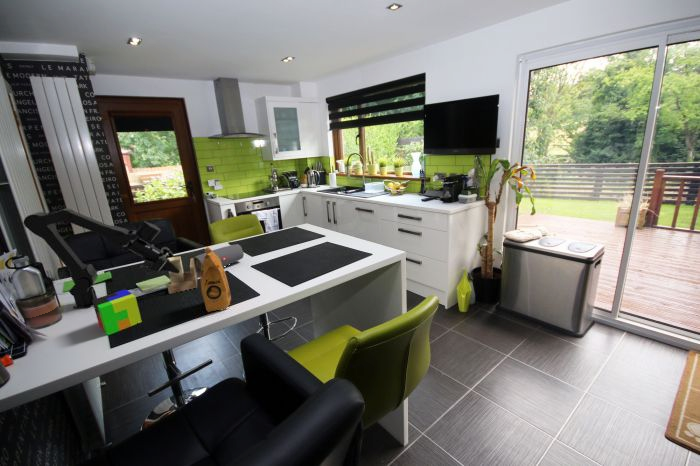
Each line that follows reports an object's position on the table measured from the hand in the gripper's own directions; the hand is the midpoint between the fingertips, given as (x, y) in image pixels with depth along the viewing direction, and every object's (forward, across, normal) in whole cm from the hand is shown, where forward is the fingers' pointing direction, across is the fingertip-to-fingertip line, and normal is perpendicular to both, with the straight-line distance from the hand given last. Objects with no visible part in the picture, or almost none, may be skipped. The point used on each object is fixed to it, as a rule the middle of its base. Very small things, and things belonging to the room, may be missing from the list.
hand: (179, 269), depth 138 cm
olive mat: (-3, -9, -14) cm, 17 cm away
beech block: (+3, 0, -5) cm, 6 cm away
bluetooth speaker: (+18, -15, +6) cm, 24 cm away
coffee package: (+15, +28, +4) cm, 32 cm away
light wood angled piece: (+6, 0, -5) cm, 8 cm away
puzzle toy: (-7, +25, -19) cm, 32 cm away
